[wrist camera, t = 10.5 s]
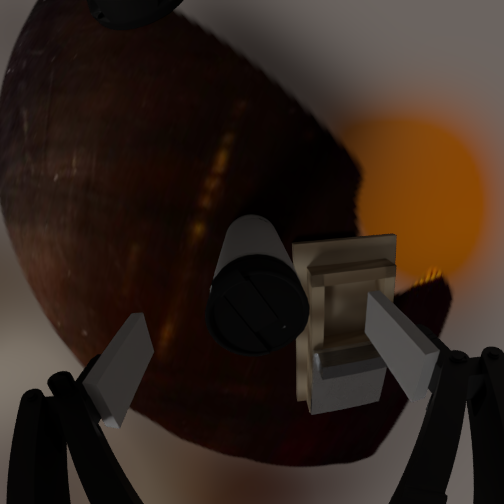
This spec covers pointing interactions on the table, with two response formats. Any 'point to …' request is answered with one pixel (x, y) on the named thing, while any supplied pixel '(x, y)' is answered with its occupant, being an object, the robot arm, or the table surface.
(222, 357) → the table surface
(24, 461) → the robot arm
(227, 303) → the travel mug
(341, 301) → the holder
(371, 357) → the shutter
